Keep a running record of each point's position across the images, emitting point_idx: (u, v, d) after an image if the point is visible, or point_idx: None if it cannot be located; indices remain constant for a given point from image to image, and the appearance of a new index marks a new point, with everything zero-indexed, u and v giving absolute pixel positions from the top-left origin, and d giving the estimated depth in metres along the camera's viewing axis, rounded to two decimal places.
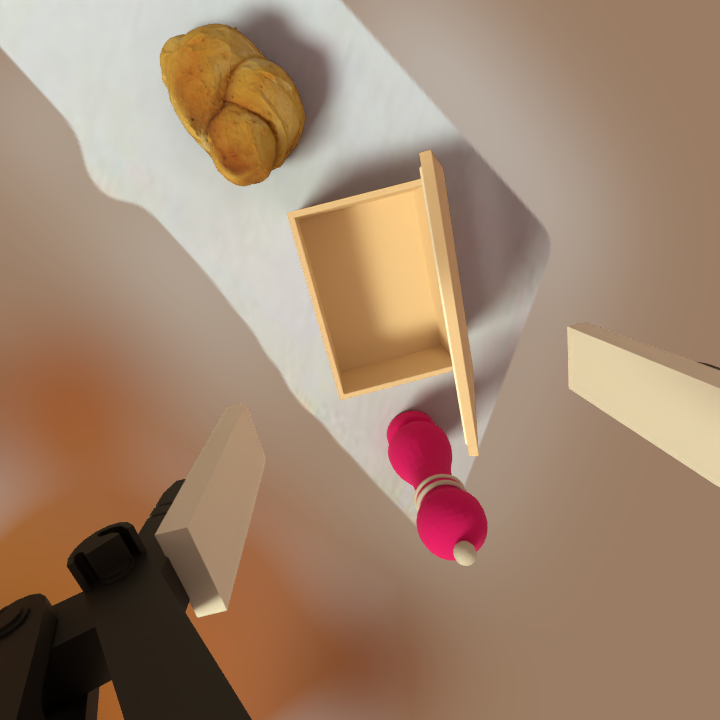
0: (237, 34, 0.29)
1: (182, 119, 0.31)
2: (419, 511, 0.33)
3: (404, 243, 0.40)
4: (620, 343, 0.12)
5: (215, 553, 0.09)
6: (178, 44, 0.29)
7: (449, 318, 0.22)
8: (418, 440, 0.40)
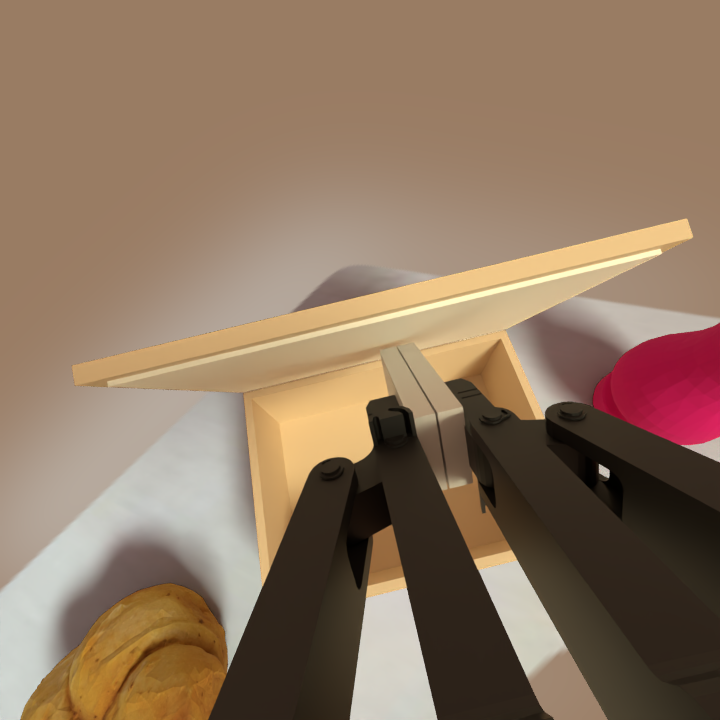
0: (42, 682, 0.21)
1: None
2: None
3: (340, 431, 0.30)
4: (415, 363, 0.15)
5: None
6: None
7: (371, 308, 0.11)
8: (652, 390, 0.23)
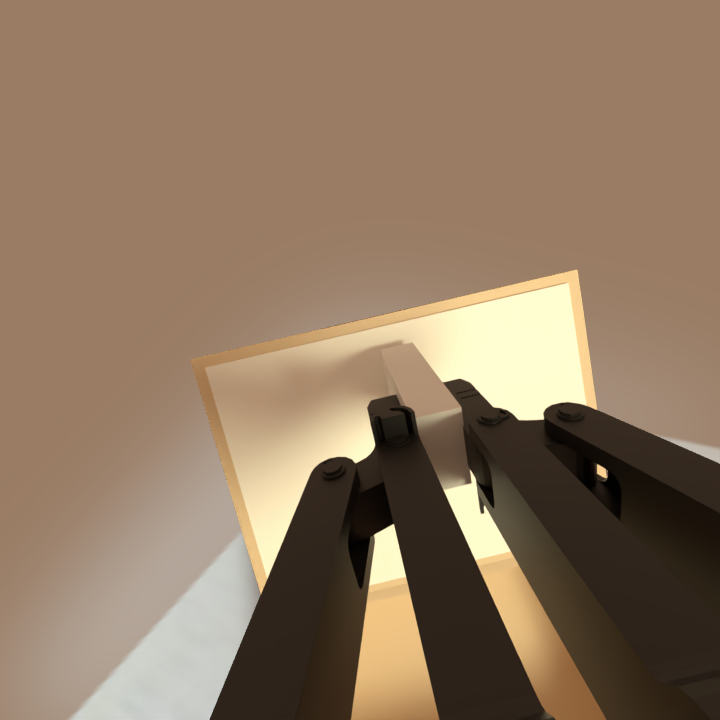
0: None
1: None
2: None
3: (386, 617, 0.25)
4: (413, 363, 0.14)
5: None
6: None
7: (375, 316, 0.18)
8: None
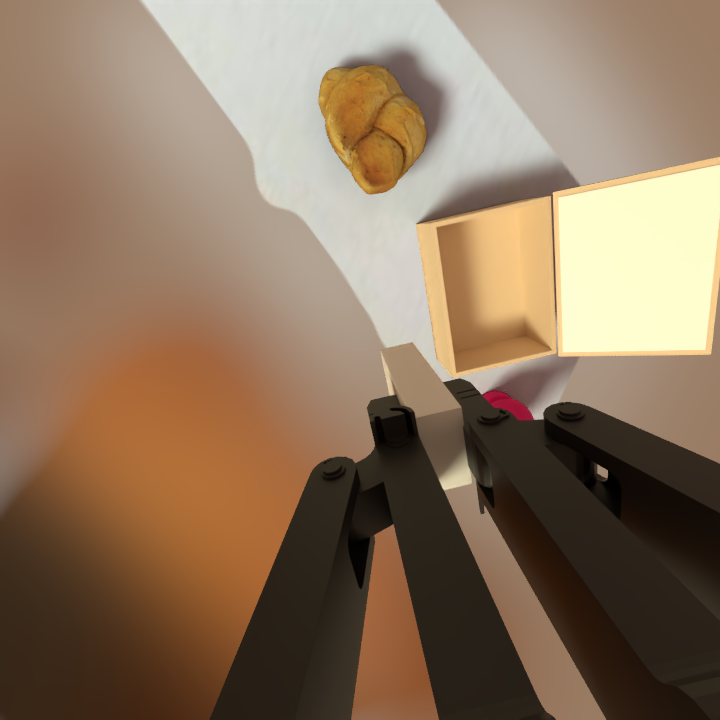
0: (391, 76, 0.37)
1: (333, 135, 0.38)
2: None
3: (505, 248, 0.48)
4: (413, 363, 0.14)
5: None
6: (346, 77, 0.36)
7: None
8: None
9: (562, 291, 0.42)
